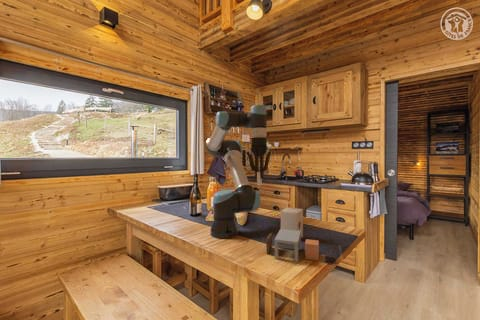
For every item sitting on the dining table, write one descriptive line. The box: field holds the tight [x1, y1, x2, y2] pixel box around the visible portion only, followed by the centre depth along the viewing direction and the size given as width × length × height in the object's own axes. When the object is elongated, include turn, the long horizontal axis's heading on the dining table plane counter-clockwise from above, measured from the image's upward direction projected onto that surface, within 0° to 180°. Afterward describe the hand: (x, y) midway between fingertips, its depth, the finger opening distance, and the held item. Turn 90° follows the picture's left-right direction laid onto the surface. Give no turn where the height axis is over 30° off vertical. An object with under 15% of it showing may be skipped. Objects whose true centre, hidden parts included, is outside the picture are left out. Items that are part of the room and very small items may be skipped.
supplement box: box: [280, 206, 304, 239], centre depth 113 cm, size 9×9×15 cm
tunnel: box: [274, 228, 302, 263], centre depth 94 cm, size 9×13×9 cm
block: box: [304, 239, 320, 260], centre depth 90 cm, size 5×5×6 cm
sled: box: [265, 232, 326, 264], centre depth 93 cm, size 23×7×8 cm, turn 70°
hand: (259, 185), depth 110 cm, fingers closed
